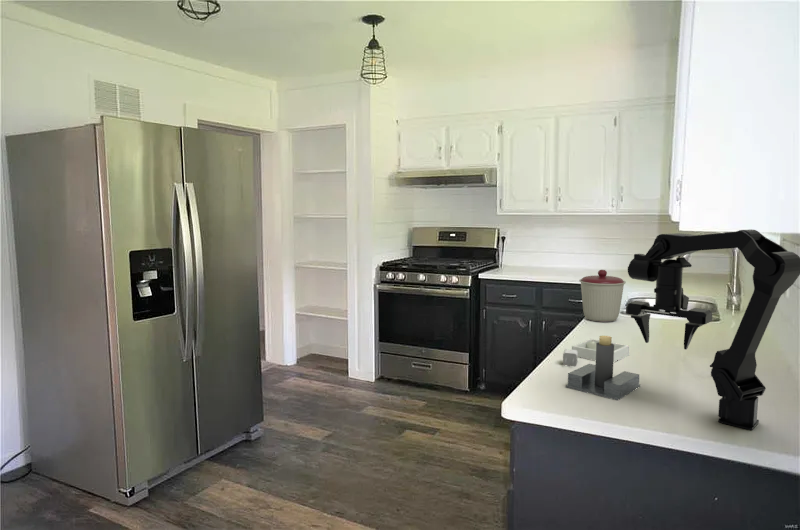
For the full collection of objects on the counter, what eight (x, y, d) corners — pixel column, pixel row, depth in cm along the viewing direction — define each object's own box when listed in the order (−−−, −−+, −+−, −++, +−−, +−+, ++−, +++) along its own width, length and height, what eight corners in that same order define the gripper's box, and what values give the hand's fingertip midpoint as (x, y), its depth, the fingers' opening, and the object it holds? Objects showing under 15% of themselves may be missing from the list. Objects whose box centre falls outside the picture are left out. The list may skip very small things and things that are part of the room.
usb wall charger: (577, 362, 166) (577, 350, 166) (576, 369, 160) (576, 356, 159) (563, 361, 168) (564, 348, 167) (562, 367, 161) (562, 354, 161)
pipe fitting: (605, 353, 179) (585, 351, 179) (606, 341, 178) (586, 340, 178) (615, 360, 171) (594, 358, 171) (616, 348, 170) (595, 346, 170)
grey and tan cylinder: (616, 386, 143) (618, 338, 141) (602, 388, 141) (604, 339, 140) (604, 381, 147) (606, 334, 145) (591, 383, 145) (593, 335, 144)
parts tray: (628, 355, 173) (629, 345, 173) (611, 363, 164) (611, 353, 164) (590, 348, 183) (590, 338, 182) (571, 355, 174) (571, 346, 173)
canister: (592, 313, 239) (594, 266, 237) (632, 320, 225) (634, 269, 223) (569, 319, 228) (570, 269, 226) (609, 326, 214) (611, 273, 212)
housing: (640, 386, 144) (640, 373, 144) (617, 400, 134) (618, 386, 134) (590, 375, 154) (590, 362, 154) (565, 387, 144) (566, 374, 144)
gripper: (720, 284, 133) (717, 346, 135) (643, 277, 146) (641, 334, 148) (706, 289, 125) (702, 355, 127) (626, 281, 138) (623, 341, 140)
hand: (665, 345), depth 136 cm, fingers open, 9 cm apart
